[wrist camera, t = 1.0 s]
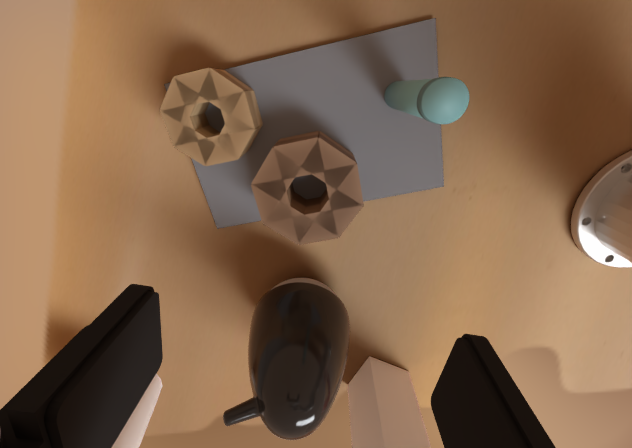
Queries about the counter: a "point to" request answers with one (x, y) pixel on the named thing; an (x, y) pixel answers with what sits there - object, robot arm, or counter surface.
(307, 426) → the pump dispenser
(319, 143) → the bead
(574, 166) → the counter surface
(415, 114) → the teal rounded rod
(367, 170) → the mat
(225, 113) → the oak bead
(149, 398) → the foam cup
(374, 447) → the milk
